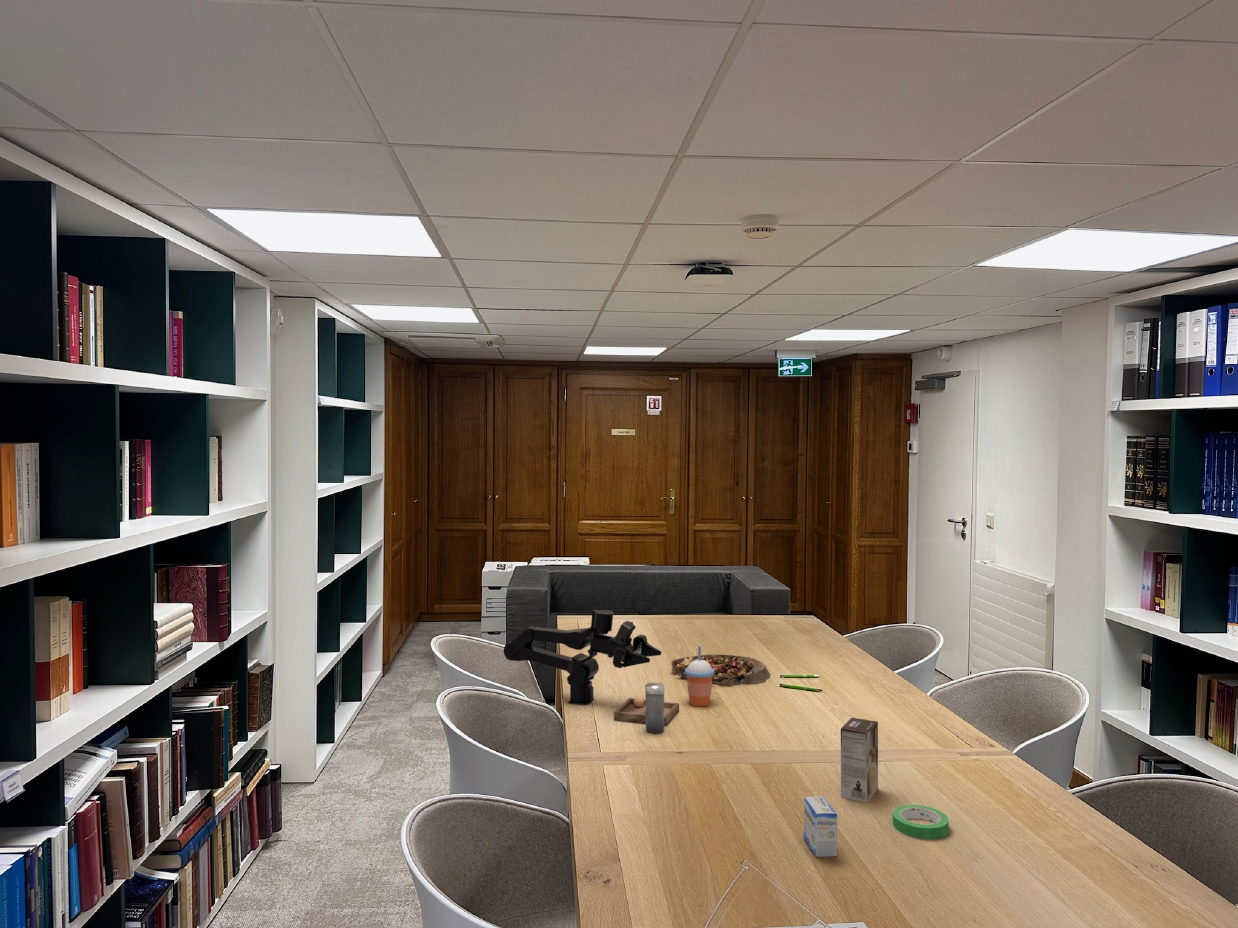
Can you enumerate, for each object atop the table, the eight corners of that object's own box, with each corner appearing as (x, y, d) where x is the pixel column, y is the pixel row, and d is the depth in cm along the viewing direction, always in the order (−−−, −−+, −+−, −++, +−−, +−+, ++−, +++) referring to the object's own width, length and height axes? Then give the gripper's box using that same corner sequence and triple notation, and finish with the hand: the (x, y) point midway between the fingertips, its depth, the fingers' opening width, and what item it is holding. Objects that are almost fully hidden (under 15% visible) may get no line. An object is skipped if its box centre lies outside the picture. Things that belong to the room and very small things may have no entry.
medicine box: (803, 838, 166) (803, 796, 166) (824, 837, 166) (824, 795, 166) (815, 857, 158) (815, 813, 158) (837, 856, 158) (838, 812, 158)
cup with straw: (712, 708, 248) (712, 650, 248) (683, 707, 250) (683, 649, 250) (715, 699, 257) (715, 643, 257) (686, 698, 259) (686, 642, 258)
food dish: (659, 685, 278) (658, 662, 278) (687, 663, 309) (687, 642, 309) (760, 692, 265) (759, 669, 265) (779, 668, 295) (778, 647, 295)
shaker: (642, 732, 227) (642, 686, 227) (648, 726, 233) (648, 681, 232) (661, 735, 226) (661, 688, 225) (666, 728, 231) (666, 683, 231)
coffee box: (851, 783, 193) (851, 716, 193) (878, 789, 189) (878, 720, 189) (839, 797, 185) (840, 727, 185) (868, 803, 182) (868, 732, 181)
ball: (634, 707, 248) (631, 704, 246) (636, 697, 250) (633, 693, 248) (644, 709, 247) (641, 705, 245) (646, 698, 249) (643, 695, 246)
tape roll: (883, 827, 171) (883, 815, 171) (907, 811, 178) (907, 799, 178) (934, 846, 163) (934, 832, 163) (957, 827, 171) (957, 815, 171)
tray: (614, 720, 238) (613, 711, 238) (629, 705, 251) (629, 697, 251) (666, 726, 233) (666, 717, 233) (679, 711, 246) (679, 703, 246)
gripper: (598, 626, 243) (646, 637, 236) (624, 614, 260) (669, 624, 253) (595, 662, 243) (642, 674, 237) (620, 648, 260) (665, 659, 254)
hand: (655, 656), depth 245 cm, fingers open, 9 cm apart
